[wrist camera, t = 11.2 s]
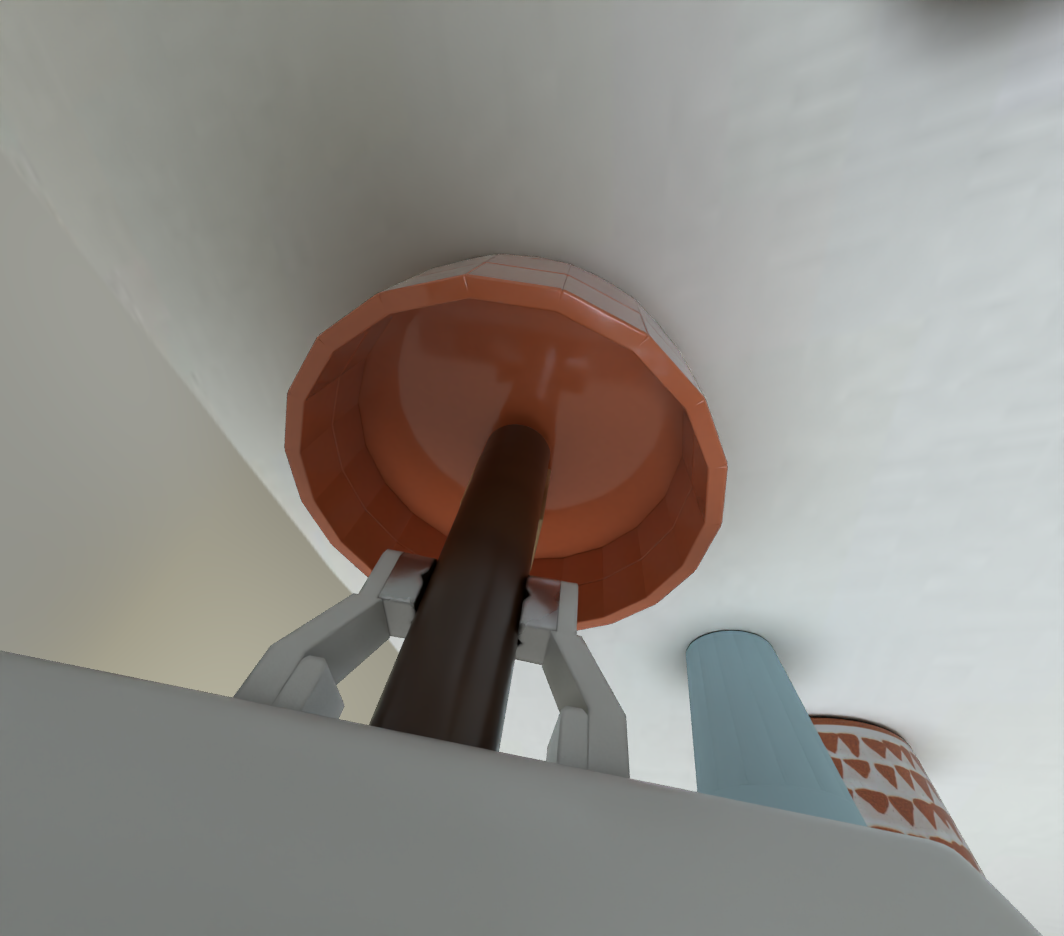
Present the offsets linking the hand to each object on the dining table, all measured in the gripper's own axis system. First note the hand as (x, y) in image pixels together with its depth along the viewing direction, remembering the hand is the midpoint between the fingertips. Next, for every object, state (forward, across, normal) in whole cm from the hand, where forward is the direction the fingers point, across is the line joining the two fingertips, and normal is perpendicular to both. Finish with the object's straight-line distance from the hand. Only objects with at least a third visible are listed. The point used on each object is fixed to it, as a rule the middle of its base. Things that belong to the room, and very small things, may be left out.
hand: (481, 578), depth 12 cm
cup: (+9, -16, +14) cm, 23 cm away
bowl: (+8, 0, 0) cm, 8 cm away
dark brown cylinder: (+7, 0, 0) cm, 7 cm away
